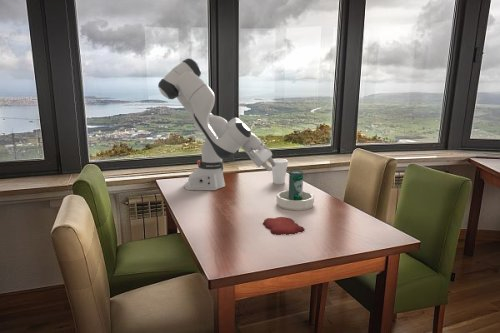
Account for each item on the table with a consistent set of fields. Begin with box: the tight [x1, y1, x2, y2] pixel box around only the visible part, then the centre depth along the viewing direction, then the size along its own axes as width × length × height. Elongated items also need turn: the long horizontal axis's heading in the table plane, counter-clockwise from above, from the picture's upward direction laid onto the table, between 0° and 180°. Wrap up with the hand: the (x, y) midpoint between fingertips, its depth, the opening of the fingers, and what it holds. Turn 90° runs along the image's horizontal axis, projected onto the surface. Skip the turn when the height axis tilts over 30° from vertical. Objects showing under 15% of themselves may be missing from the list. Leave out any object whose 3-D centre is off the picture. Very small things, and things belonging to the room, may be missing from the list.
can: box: [288, 169, 304, 201], centre depth 176 cm, size 6×6×15 cm
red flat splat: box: [262, 216, 305, 236], centre depth 151 cm, size 18×14×2 cm
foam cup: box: [270, 158, 289, 185], centre depth 213 cm, size 10×9×13 cm
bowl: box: [275, 189, 315, 212], centre depth 177 cm, size 17×17×4 cm
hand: (272, 168), depth 177 cm, fingers open, 8 cm apart
